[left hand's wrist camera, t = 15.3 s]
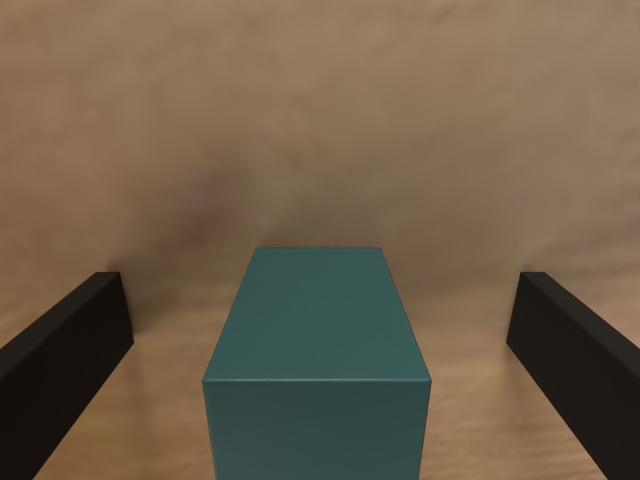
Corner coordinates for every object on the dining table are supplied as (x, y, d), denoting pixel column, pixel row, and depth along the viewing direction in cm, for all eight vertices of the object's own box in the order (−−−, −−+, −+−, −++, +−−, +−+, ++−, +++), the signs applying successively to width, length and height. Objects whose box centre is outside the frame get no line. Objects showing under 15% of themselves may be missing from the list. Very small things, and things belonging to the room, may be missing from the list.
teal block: (262, 350, 14) (221, 532, 8) (255, 247, 12) (200, 380, 7) (374, 350, 14) (412, 531, 8) (381, 247, 12) (432, 380, 7)
